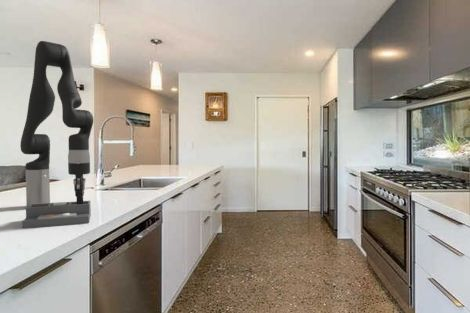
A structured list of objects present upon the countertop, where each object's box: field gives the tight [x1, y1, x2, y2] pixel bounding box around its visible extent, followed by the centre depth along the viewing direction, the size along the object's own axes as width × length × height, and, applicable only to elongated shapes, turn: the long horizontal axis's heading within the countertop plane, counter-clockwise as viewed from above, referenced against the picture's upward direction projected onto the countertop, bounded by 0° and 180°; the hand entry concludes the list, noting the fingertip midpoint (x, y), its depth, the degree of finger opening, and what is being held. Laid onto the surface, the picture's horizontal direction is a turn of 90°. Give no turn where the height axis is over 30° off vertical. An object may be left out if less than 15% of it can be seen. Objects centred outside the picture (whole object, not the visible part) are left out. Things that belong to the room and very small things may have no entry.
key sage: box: [52, 201, 69, 206], centre depth 122 cm, size 5×5×2 cm
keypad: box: [22, 200, 92, 229], centre depth 120 cm, size 14×21×6 cm
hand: (80, 206), depth 124 cm, fingers closed
